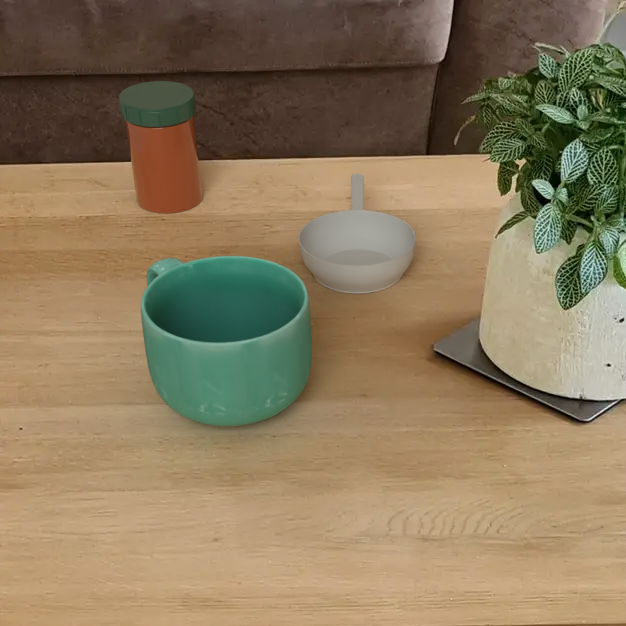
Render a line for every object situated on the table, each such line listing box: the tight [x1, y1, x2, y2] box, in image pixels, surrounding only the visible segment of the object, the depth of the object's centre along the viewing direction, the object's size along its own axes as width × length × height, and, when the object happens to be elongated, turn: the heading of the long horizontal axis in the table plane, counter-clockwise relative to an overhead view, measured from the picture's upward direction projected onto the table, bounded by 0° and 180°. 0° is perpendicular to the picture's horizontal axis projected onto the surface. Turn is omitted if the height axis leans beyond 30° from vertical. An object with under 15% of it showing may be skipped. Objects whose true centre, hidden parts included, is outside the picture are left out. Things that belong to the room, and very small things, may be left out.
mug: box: [140, 255, 313, 427], centre depth 91 cm, size 17×13×10 cm
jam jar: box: [124, 115, 204, 214], centre depth 116 cm, size 7×7×11 cm
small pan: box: [297, 173, 417, 294], centre depth 111 cm, size 11×18×4 cm, turn 3°
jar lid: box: [118, 80, 197, 127], centre depth 113 cm, size 7×7×2 cm
